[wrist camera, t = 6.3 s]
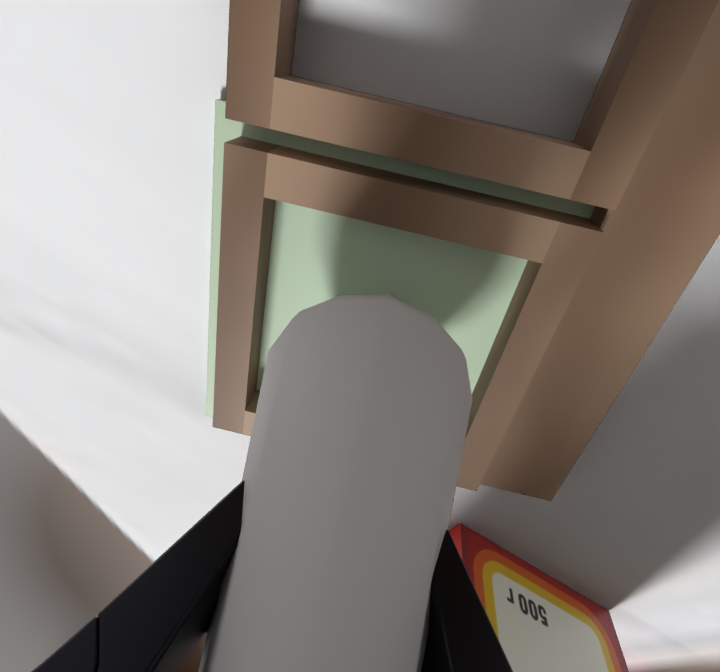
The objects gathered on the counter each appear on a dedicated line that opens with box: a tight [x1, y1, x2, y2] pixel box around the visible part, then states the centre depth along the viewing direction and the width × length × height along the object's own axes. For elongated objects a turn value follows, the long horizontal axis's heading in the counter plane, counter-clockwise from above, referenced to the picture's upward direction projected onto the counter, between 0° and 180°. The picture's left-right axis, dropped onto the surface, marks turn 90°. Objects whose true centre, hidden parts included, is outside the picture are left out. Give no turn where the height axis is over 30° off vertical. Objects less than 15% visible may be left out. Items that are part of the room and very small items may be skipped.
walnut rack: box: [213, 0, 720, 501], centre depth 13 cm, size 13×21×2 cm, turn 169°
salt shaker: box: [198, 292, 472, 672], centre depth 9 cm, size 6×6×13 cm
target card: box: [206, 99, 595, 417], centre depth 16 cm, size 12×12×1 cm
